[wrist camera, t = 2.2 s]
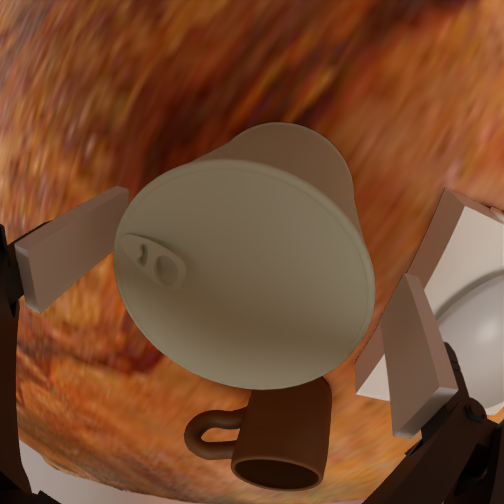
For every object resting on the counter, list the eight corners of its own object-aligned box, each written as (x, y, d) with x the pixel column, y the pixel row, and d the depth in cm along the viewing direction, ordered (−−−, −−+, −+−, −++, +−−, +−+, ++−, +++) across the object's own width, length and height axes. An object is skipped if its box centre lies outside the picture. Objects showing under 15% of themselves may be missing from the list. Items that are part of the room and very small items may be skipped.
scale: (447, 181, 17) (479, 208, 13) (578, 254, 16) (609, 286, 12) (355, 362, 26) (355, 410, 21) (486, 389, 24) (497, 427, 20)
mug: (209, 394, 32) (179, 468, 24) (209, 345, 28) (170, 430, 20) (321, 417, 30) (311, 496, 22) (342, 372, 26) (337, 466, 18)
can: (245, 97, 18) (140, 107, 8) (380, 168, 18) (441, 267, 8) (192, 219, 23) (92, 327, 12) (308, 280, 23) (285, 425, 12)
